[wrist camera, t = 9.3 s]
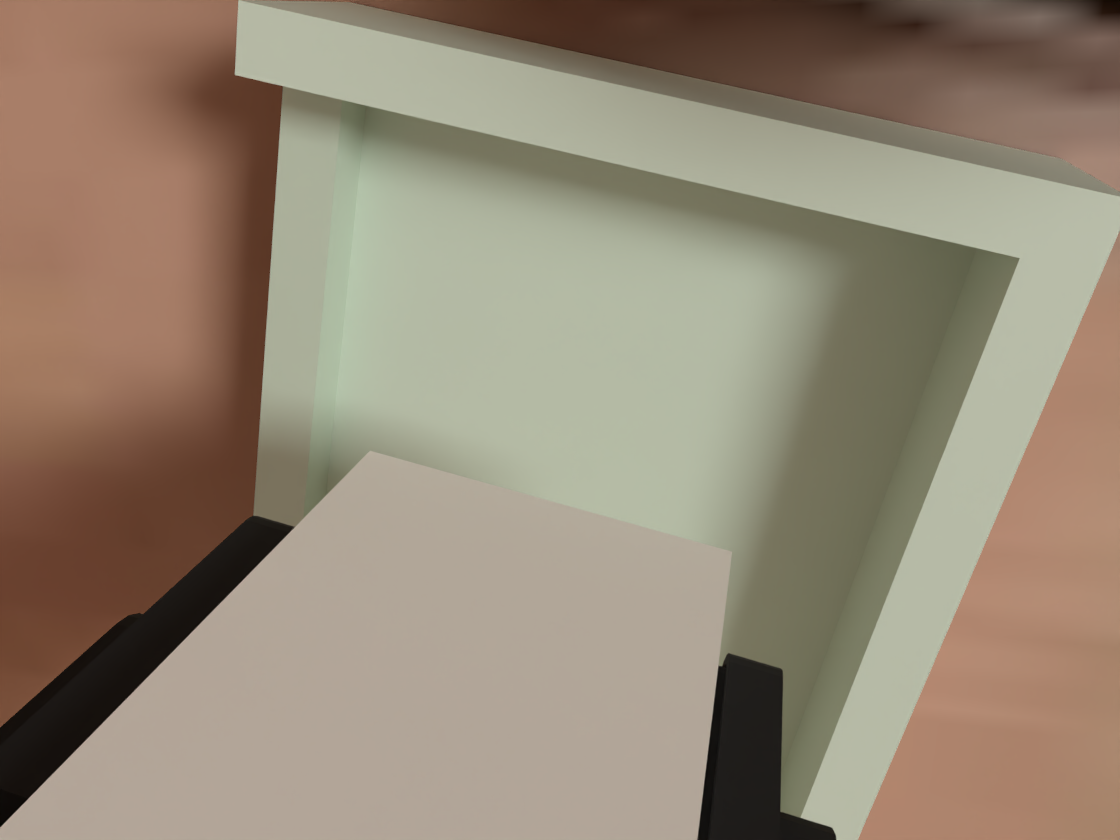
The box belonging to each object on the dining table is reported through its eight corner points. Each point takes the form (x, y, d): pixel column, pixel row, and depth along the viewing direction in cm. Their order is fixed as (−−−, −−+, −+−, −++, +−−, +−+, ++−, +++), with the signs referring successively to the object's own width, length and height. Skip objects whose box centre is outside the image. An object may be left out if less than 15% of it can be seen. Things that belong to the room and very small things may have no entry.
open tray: (349, 1, 14) (237, 0, 11) (1061, 159, 13) (1133, 199, 10) (287, 667, 18) (199, 779, 16) (798, 826, 17) (798, 978, 15)
